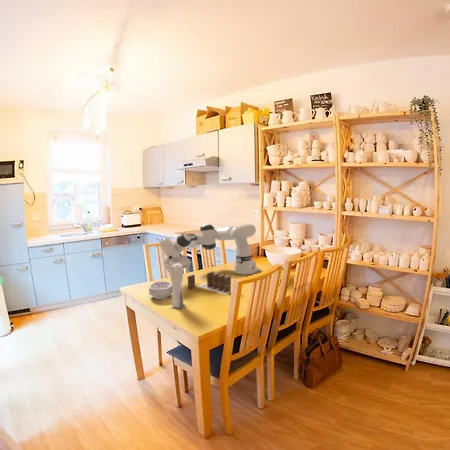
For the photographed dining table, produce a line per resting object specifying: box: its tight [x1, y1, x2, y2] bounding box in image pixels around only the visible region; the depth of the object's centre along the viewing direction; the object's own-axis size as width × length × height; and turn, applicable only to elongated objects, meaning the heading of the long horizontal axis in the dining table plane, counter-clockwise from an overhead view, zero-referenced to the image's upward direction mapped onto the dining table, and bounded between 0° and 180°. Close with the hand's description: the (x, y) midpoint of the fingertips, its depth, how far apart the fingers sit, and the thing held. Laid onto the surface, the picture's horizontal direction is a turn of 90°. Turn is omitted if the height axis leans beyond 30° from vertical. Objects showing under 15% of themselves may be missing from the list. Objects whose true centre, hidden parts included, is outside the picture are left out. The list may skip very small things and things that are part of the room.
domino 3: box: [213, 272, 220, 289], centre depth 218 cm, size 2×5×10 cm, turn 141°
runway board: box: [196, 282, 233, 296], centre depth 218 cm, size 12×26×1 cm, turn 51°
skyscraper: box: [170, 261, 187, 310], centre depth 189 cm, size 8×8×28 cm
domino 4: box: [218, 274, 226, 291], centre depth 215 cm, size 2×5×10 cm, turn 141°
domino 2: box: [206, 271, 215, 288], centre depth 221 cm, size 2×5×10 cm, turn 141°
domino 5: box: [224, 275, 232, 292], centre depth 211 cm, size 2×5×10 cm, turn 141°
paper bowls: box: [148, 280, 172, 300], centre depth 206 cm, size 15×15×8 cm
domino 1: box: [187, 274, 196, 290], centre depth 217 cm, size 2×5×10 cm, turn 141°
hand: (184, 273), depth 220 cm, fingers open, 8 cm apart
